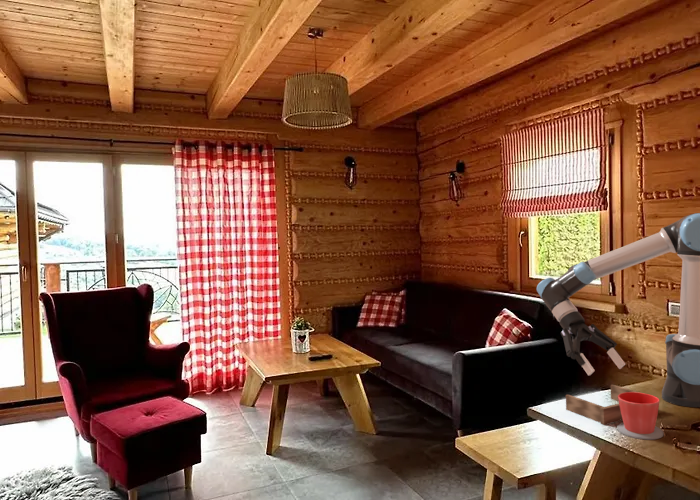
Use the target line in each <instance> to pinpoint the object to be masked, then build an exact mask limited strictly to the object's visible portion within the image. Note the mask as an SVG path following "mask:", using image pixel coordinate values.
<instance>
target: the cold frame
mask: <svg viewBox="0 0 700 500" xmlns="http://www.w3.org/2000/svg"><path fill="white" fill-rule="evenodd" d="M625 392H638V393H641V392H639V391H637V390H636V391H635V390H633V389H629V388H625V387H623V386H619V385H615V384H610V399H611V400H613V401H616V402H619V401H618V395H619V394H621V393H625ZM651 395H652V394H651ZM652 396H654V395H652ZM565 409H566V410H567V411H569V412H571V413H574V414H577V415H580V416H582V417H585V418H587V419H589V420H592V421H595V422H598V423H600V425H603V426H605V425H609V424H612V423H613V424H614V423H616V422H620V421H623V419H622V415H621V410H620V405H619V403H616V404H615V403H614V404H612V405H611V404H610V405H607V406H602V405H599V404H597V403H594V402H591V401H588V400H586V399H582V398H579V397H576V396H574V395H570V394H566V395H565Z"/></svg>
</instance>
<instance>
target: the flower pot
mask: <svg viewBox="0 0 700 500" xmlns="http://www.w3.org/2000/svg"><path fill="white" fill-rule="evenodd" d="M638 392H639V391H637V392H625V393H621V394H619V395H618V401H617V402H618V404H619V405H620V410H621V415H622V419H623V420H622V423H624V427H625V429H627V430H628V431H630V432H633V433H637V434H651V433H653V432H654V429H655V426H656V424H657V419H658V413H659V407H660V398H659V397H657V396H655V395H653V396H652V394H648V393H643V392H640V393H638Z"/></svg>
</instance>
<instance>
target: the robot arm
mask: <svg viewBox="0 0 700 500" xmlns="http://www.w3.org/2000/svg"><path fill="white" fill-rule="evenodd" d="M669 253H673V254H676V255H677V256H678V257H679V259H681V260H682V264H681V278H680V279H681V282H680V299H679V300H680V301H679V316H678V332H677V333H669V334H667V335H666V337H665V341H664V343H665V344H664V345H665V352H666V353H665V354H666V356H665V357H666V378H665V381H664V384H663V387H662V390H661V398H662V400H664V401H665V402H667V403H671V404H673V405H677V406H683V407H687V408H688V407H689V408H700V212H698V213H696V212H695V213H690V214H688V215H684V216H683V217H681V218H680V219H679V220H676V221H675V222H673V223H671V224H669V225H667V226H663V227H662V228H660V231H659V232H656V233H654V234H651V235H649V236H647V237H644V238H641V239H639V240H636V241H633V242H631V243H628V244H625V245H624V246H622V247H619V248H616V249H613V250H611V251H608V252H605V253H603V254H600V255H598V256H596V257H593V258H590V259H588V260H586V261H581V262H579V263H578V264H577V263H576V264H573V265H571V266H570V267H569V268H568V269H567V271H566V272H565V273H564V274H562V275H561V276H560V277H558V278H557V279H554V278H553V277H546V278H545V279H542V280H541V281H540V282H539V283H538V284H537V286H536V292H537V293H538V295H539V297H540V298H541V299H540V300H542V301H543V302H544V304H545V306H546V307H547V308H548V310H550V312H551V313H552V315H553V316H554V318H555V319H556V321H557V322H559V325H560V326H561V328H562V331H561V332H560V335H561V337H562V338H563V343H564V348H565V352H566V356H567V357H568V358H571V360H576V361H577V363H578V365H579V366H581V368H583V370H584V371H585V373H586V374H587V376H591V375H592V374H593V373H594V372H595V371H596V370H595V369H594V367H593V366H592V364H591V363H590V361H589V359H587V358H586V356H585V355H584V353H582V352H580V351H581V342H582V341H587V342H592V343H594V344H595V345H597V346H599V347H600V348H602V349H604V350H606V351H607V352H606V354H607V355H608V357H609V358H610V359H611V360H612V361H613V363H614V364H615V366H617V368H618V369H619V370H621V369H623V367H625V365H626V362H625V361H624V360H623V359H622V357H621V355H620V353H619V352H618V351H617V350H616V347H617V345H618V343H617V342H615V340H613V339H611V338H610V337H609V336H608V335H607V334H605V333H604V332H603V331H602V330H600V329H599V328H598V327H597V326H596V325H595V324H593V323H591V325H589V326H588V325H587V324H586V323H585V322H586V321H585V318H584V316H582V314H581V312H580V311H578V308H577V307H576V306H575V305H574V303H573V302H572V301H571V300H570V297H572V296H573V295H575V294H576V293H577V292H580V291H581V290H582V289H584V288H586V286H588V285H591V283H592V282H593V281H595V280H598V279H601V278H603V277H606V276H608V275H612V274H614V273H617V272H620V271H622V270H625V269H628V268H630V267H633V266H636V265H639V264H641V263H644V262H647V261H649V260H652V259H655V258H657V257H660V256H662V255H666V254H669Z"/></svg>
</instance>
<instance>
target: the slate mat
mask: <svg viewBox="0 0 700 500" xmlns="http://www.w3.org/2000/svg"><path fill="white" fill-rule="evenodd" d="M616 427H617V431H618V432H619V434H621V435H623V436H626V437H629V438H633V439H638V440H647V441H650V440H651V441H652V440H658V439H661V438H662V437H664V431H663V429H661V428H660V427H658V426H656V425H655V429H654V432H653V433H651V434H637V433H633V432H630V431H628V430H627V429H625V427H624V422H621V423H619V424H618V425H617V426H616Z"/></svg>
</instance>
